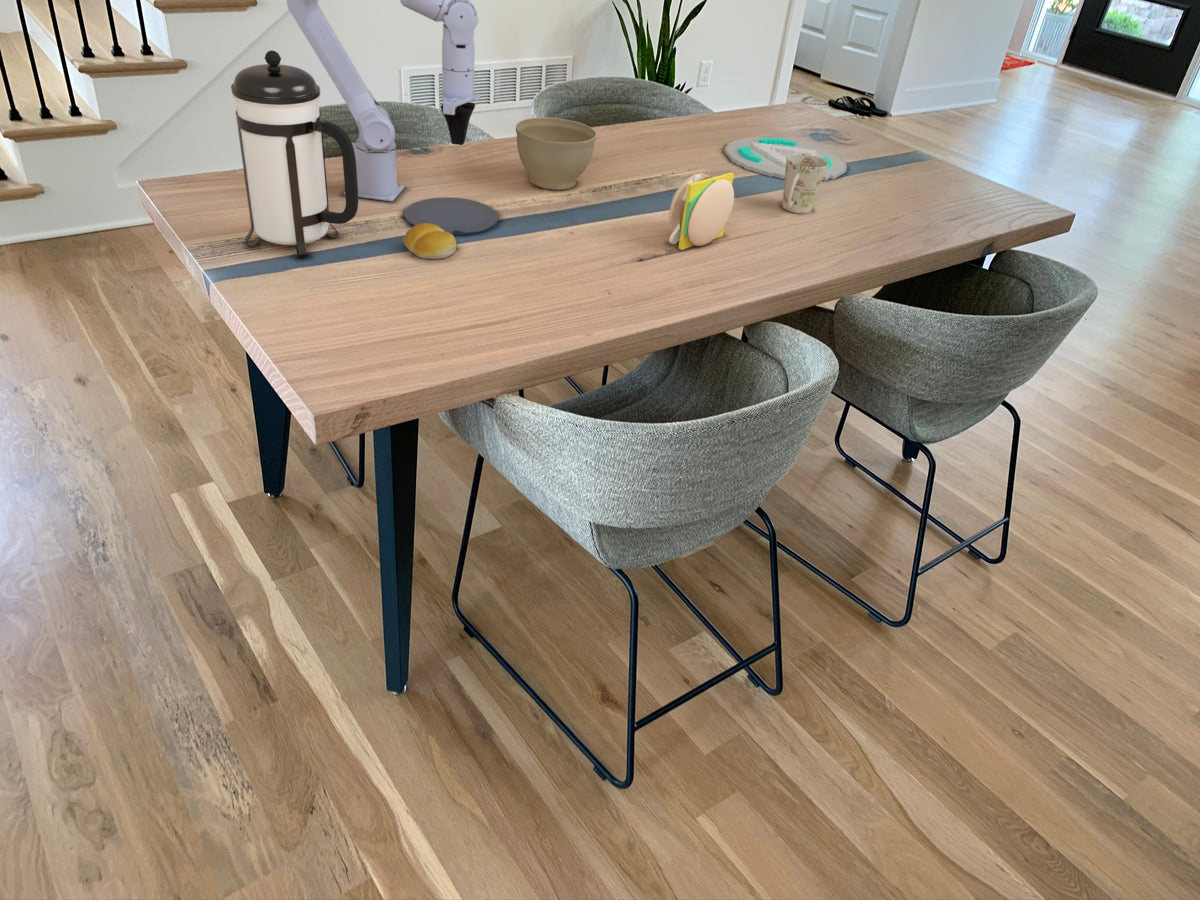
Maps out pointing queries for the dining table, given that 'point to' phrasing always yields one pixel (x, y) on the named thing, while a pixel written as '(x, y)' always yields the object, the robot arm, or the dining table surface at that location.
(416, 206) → the plate
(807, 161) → the mug
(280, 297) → the dining table surface
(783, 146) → the grey flat disc
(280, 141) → the coffee press
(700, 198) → the hamburger
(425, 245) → the bread roll
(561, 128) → the planter bowl
